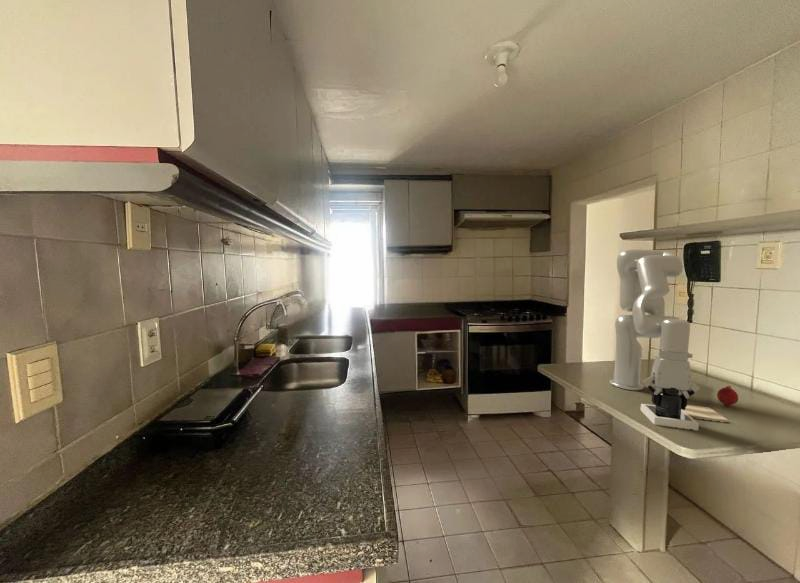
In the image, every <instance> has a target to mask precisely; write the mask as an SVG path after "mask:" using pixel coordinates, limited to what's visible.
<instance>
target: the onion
mask: <svg viewBox="0 0 800 583" xmlns="http://www.w3.org/2000/svg"><path fill="white" fill-rule="evenodd" d="M716 397H717V399H718V401H719V402H720V403H721V404H723V405H724V406H726V407H730V406H732V405H734V404H737V402H738V401H739V395H738V393H737V392H736V391H735V390H734V389H733V388H732V386H731V385H727V386H725V387H722V388H720V389H719V390H718V391H717V394H716Z"/></svg>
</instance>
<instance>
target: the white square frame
mask: <svg viewBox="0 0 800 583" xmlns="http://www.w3.org/2000/svg"><path fill="white" fill-rule="evenodd" d="M640 412H642V414H643V415H644V416H646V418H647V419H648V420H649V421H650V422H651V423H652V424H653V425H656V426H662V427H671V428H676V427H677V429H683V428H684V429H685V430H690V429H693V430H692V431H699V426H700V424H699V422H698V421H697V419H693V418H692V417H691V416H689V415H688V414H687V413H686V412H684V411H683V410H682V409H681V420H680V419H673V418H665V417H658V416H656V415H655V413H656V406H655V405H654V404H648V403H640ZM684 429H683V430H684Z"/></svg>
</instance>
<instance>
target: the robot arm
mask: <svg viewBox="0 0 800 583" xmlns="http://www.w3.org/2000/svg"><path fill="white" fill-rule="evenodd" d="M683 265H684V264H683V262H682V260H681V259H680V258H679V256H678V255H676V254H674V253H671V252H669V251H667V250H662V249H627V250H623V251H621V252H620V253H619V254H618V256H617V259H616V269H617V273H618V276H619V281H620V284H619V285H620V287H619V288H620V289H619V306H620V308H621V310H622V311H625V312H630V313H631V314H623V315H619V316H617V318H615V322H614V325H615V326H614V327H615V336H616V337H615V338H616V339H615V342H616V344H615V355H614V356H615V358H614V372H613V378H611V379H609V384H611V385H612V386H613V385H614V386H613V387H616V388H619V389H623V390H627V391H642V390H644V387H645V386H646V388H647V389H648V390H649V391H650V392H651V393H652V394H651V402H652V405H655V406H657V407H658V406H659V400H660V396H659V395H658V393H659V392H660V391H662V390H661V389H662V388H665V389H669V388H676V389H678V390H679V393H680V394H679V395H680V396H681V397H682V409H683V410H685V408H686V407H687V405H688V400H689V399H690V397H692V396H693V395H695V393H697V391H699V390H700V389H701V388H700V386H699V385H698V384H696V383H695V382H694V381H693V380H692V371H691V370H692V369H691V363H690V361H689V359H690V358H692V359H693V354H692V353H689V347H690V346H689V344H690V343H689V342H690V331H691V324H690V322H689V321H687V320H684V319H681V318H679V317H678V316H671V315H665V307H666V306H665V304H666V302H665V299H664V297H665V296H667V294H668V293H669V292H670V290H671V289H670V285H669V282H668V278H677V277H679V276H680V275H681V274H682V272H683ZM646 313H647V314H646ZM637 338H643V339H644V338H647V339H658V338H659V352H658V356H655V359H654V360H653V361H654V362H653V365H652V367H651V368H652V369H651V372H650V373H651V375H650V376H649V377H647V378H644V379H643V380H642V383H643V384H642V383H641V382H640V381H641V380H640V379H641V367H642V354H643V348H642V344H641V343H640V342H639V341H638V340H637ZM650 383H651V384H653V386H652V385H651V384H650Z"/></svg>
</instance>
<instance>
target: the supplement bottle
mask: <svg viewBox="0 0 800 583" xmlns="http://www.w3.org/2000/svg"><path fill="white" fill-rule="evenodd" d="M679 393H680V391H679V390H678V389H676V388H669V389H665V388H662V389H661V391H660V392H659V393H658V395H659V396H660V400H659V406H658V407H657V406H656V413H654V414H655V415H656V416H658V417H665V418H673V419H680V420H682V419H681V409H682V397H681V396H680V395H681V394H679Z"/></svg>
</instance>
